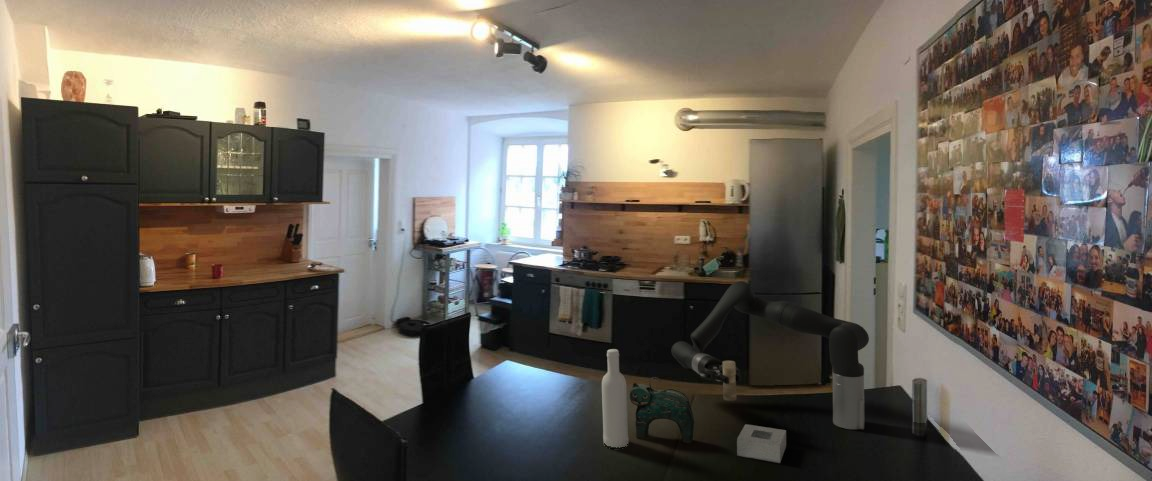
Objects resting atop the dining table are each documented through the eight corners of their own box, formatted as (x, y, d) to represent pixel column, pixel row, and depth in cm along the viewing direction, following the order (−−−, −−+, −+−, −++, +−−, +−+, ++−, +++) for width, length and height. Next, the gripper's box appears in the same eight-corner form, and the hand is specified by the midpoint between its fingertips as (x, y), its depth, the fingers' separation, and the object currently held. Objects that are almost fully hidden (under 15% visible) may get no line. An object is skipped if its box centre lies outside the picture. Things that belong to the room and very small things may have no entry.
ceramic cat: (630, 439, 179) (628, 377, 178) (635, 431, 185) (633, 371, 184) (692, 446, 172) (691, 382, 171) (695, 437, 178) (694, 376, 177)
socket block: (786, 446, 170) (785, 430, 169) (780, 463, 159) (779, 446, 159) (745, 439, 175) (745, 424, 175) (737, 455, 165) (736, 439, 165)
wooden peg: (737, 397, 182) (736, 361, 182) (734, 401, 179) (733, 364, 178) (725, 395, 184) (724, 360, 184) (722, 399, 181) (721, 363, 180)
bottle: (611, 451, 170) (608, 355, 168) (598, 442, 177) (595, 349, 175) (633, 445, 174) (630, 351, 172) (620, 436, 181) (617, 345, 179)
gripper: (688, 357, 193) (714, 371, 176) (724, 352, 197) (753, 365, 180) (688, 379, 193) (714, 394, 177) (724, 373, 197) (753, 388, 181)
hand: (734, 379), depth 179 cm, fingers closed on wooden peg, 4 cm apart
